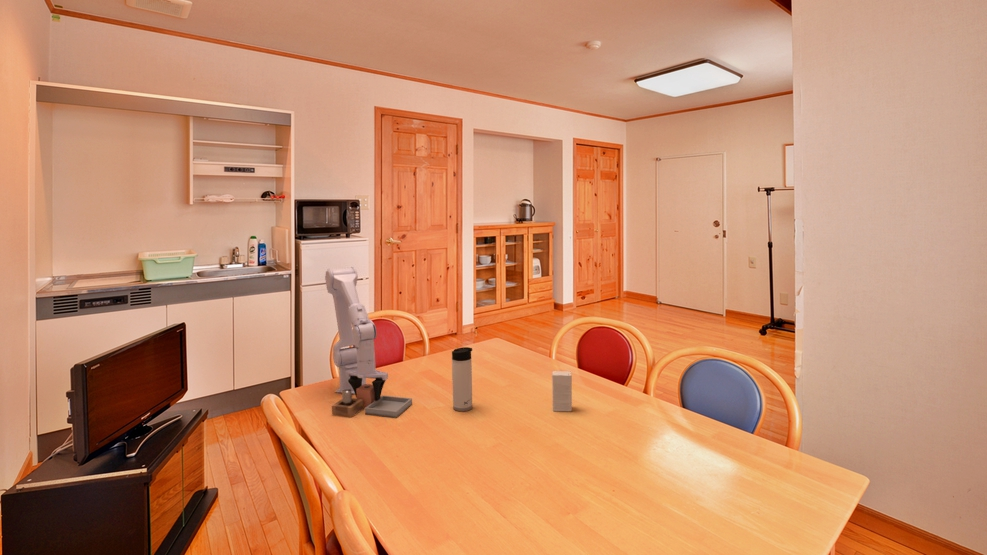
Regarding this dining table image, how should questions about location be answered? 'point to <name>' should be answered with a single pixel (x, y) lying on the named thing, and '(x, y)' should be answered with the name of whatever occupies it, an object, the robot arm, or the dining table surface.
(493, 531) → the dining table surface
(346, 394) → the cylinder
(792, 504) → the dining table surface
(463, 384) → the travel mug
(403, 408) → the tray
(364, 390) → the block
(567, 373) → the skincare box
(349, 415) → the brown square frame
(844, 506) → the dining table surface
